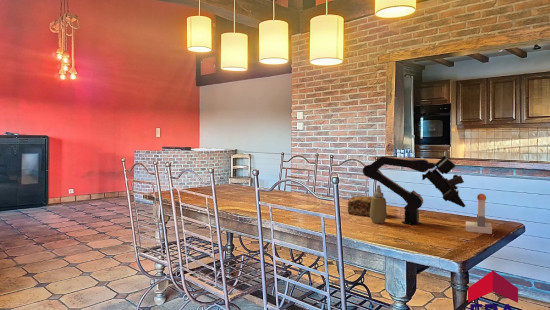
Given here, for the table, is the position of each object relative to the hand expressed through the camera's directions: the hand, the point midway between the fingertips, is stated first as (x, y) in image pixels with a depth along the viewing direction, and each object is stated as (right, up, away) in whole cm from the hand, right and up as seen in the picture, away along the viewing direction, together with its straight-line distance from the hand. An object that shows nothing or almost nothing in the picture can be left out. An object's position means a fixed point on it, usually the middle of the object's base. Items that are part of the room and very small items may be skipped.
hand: (464, 206), depth 167 cm
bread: (-36, -9, +32) cm, 49 cm away
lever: (+6, -6, -3) cm, 9 cm away
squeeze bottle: (-36, -10, +13) cm, 39 cm away
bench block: (+6, -10, -3) cm, 12 cm away
